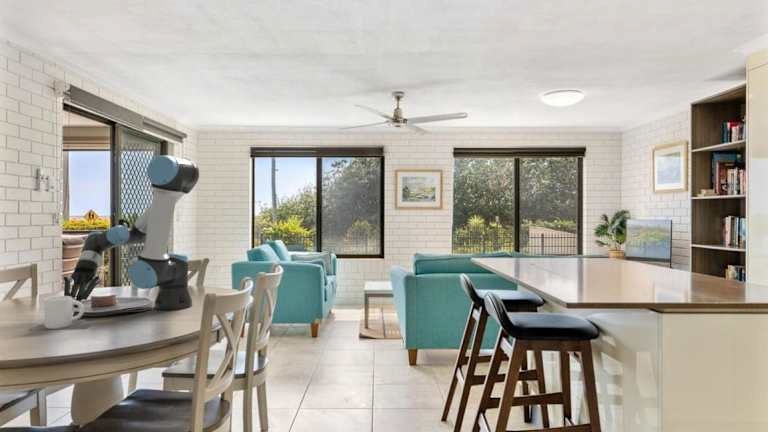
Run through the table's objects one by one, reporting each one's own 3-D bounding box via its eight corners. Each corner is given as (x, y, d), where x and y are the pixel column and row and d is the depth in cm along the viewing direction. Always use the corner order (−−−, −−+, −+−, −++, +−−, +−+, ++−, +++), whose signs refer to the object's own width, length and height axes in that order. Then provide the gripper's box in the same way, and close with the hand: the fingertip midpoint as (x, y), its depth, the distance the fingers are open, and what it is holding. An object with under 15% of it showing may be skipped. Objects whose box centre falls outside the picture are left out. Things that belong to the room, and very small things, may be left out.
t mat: (101, 320, 183) (101, 319, 183) (86, 329, 170) (86, 328, 170) (46, 322, 180) (46, 321, 180) (26, 332, 166) (26, 330, 166)
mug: (84, 321, 180) (83, 294, 180) (84, 326, 173) (83, 297, 173) (45, 325, 174) (44, 297, 173) (43, 330, 167) (43, 301, 166)
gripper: (107, 269, 198) (91, 319, 182) (72, 270, 195) (53, 320, 179) (102, 258, 192) (85, 308, 176) (66, 258, 190) (46, 309, 174)
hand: (69, 314), depth 178 cm, fingers closed
